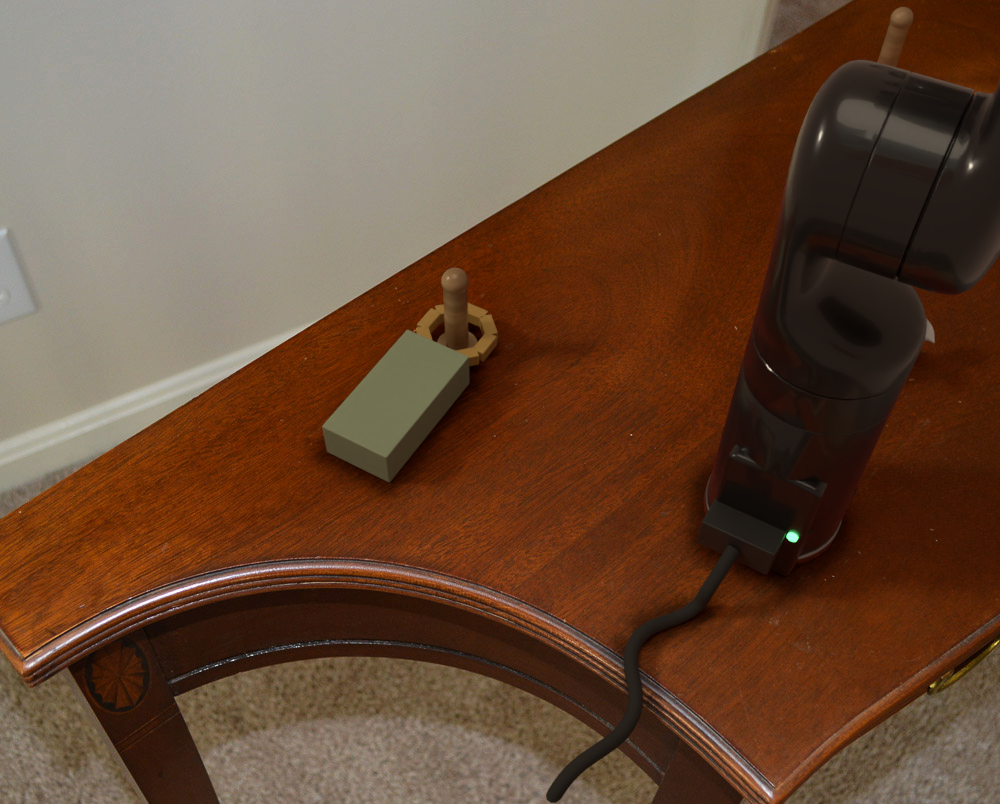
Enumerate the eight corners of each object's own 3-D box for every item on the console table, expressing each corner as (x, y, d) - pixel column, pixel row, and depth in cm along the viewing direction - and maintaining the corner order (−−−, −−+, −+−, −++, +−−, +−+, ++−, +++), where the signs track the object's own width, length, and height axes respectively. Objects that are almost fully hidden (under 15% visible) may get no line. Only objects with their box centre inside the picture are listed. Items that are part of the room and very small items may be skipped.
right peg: (890, 100, 104) (916, 22, 97) (857, 90, 105) (882, 11, 98) (900, 83, 106) (927, 5, 99) (869, 73, 107) (893, -5, 100)
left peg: (464, 369, 84) (461, 293, 77) (429, 353, 85) (423, 276, 78) (485, 342, 85) (484, 266, 79) (450, 327, 86) (447, 250, 80)
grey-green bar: (392, 484, 77) (389, 459, 75) (323, 450, 79) (318, 424, 77) (509, 338, 86) (510, 311, 83) (445, 310, 88) (443, 282, 85)
